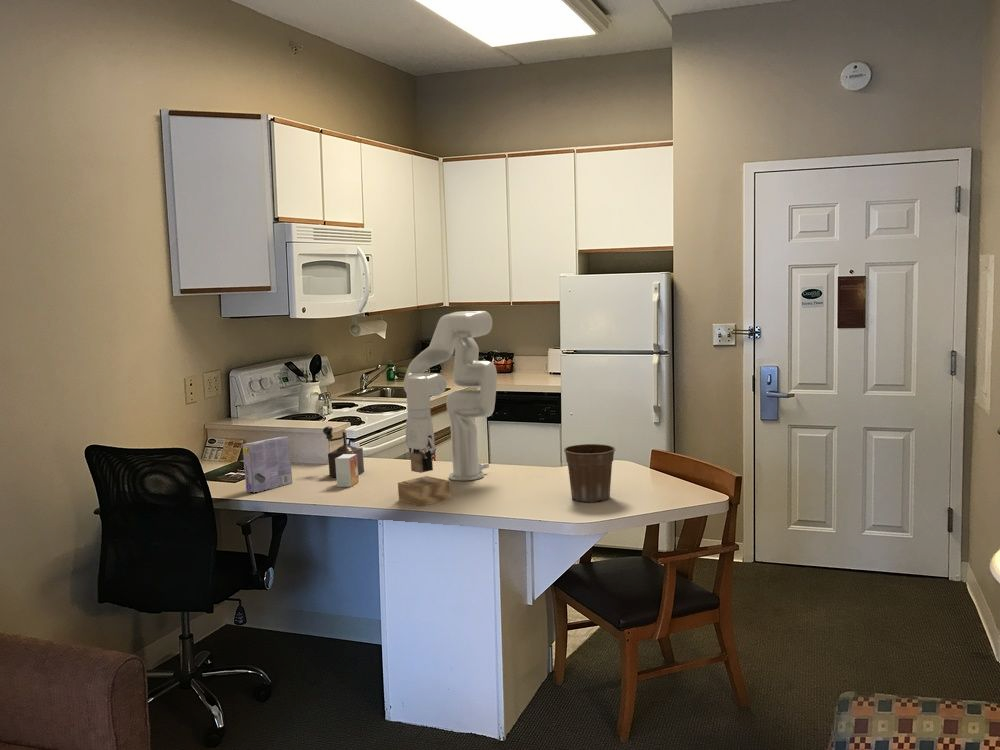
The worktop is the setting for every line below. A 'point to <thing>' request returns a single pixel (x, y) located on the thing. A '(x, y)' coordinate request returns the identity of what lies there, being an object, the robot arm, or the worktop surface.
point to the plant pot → (590, 471)
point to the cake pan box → (267, 464)
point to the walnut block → (418, 462)
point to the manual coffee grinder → (342, 452)
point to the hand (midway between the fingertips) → (422, 468)
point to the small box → (347, 470)
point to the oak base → (423, 490)
